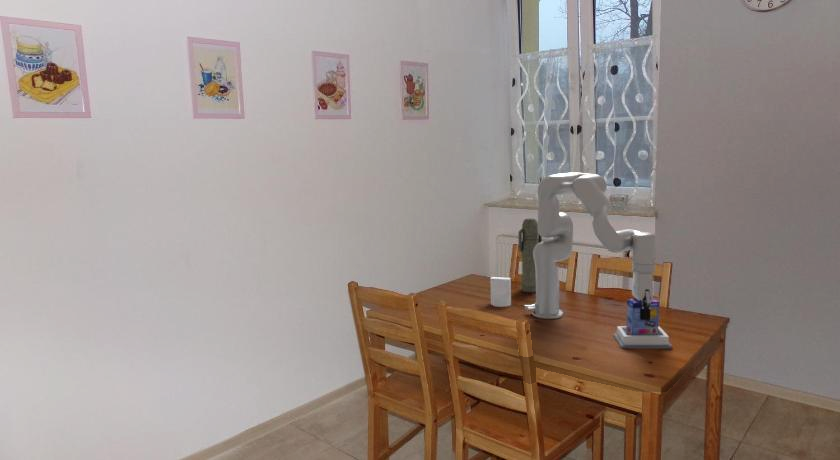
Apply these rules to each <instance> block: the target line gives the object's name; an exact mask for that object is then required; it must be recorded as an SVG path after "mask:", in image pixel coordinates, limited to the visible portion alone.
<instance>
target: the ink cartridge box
mask: <svg viewBox="0 0 840 460" xmlns="http://www.w3.org/2000/svg"><path fill="white" fill-rule="evenodd" d="M643 300H646V299H643ZM626 301H627V303H626V306H627V307H626V326H627V331H628V332H629V333H630V334H631V335H649V334H658V326H659V312H660V300H658V299H656V298H654V297H653V299H652V300H651V304H650V320H641V319H640V309H642V308H641V300H640V301H638V300H637V299H636V298H635V297H634V298H627V300H626ZM643 303H646V302H643Z"/></svg>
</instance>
